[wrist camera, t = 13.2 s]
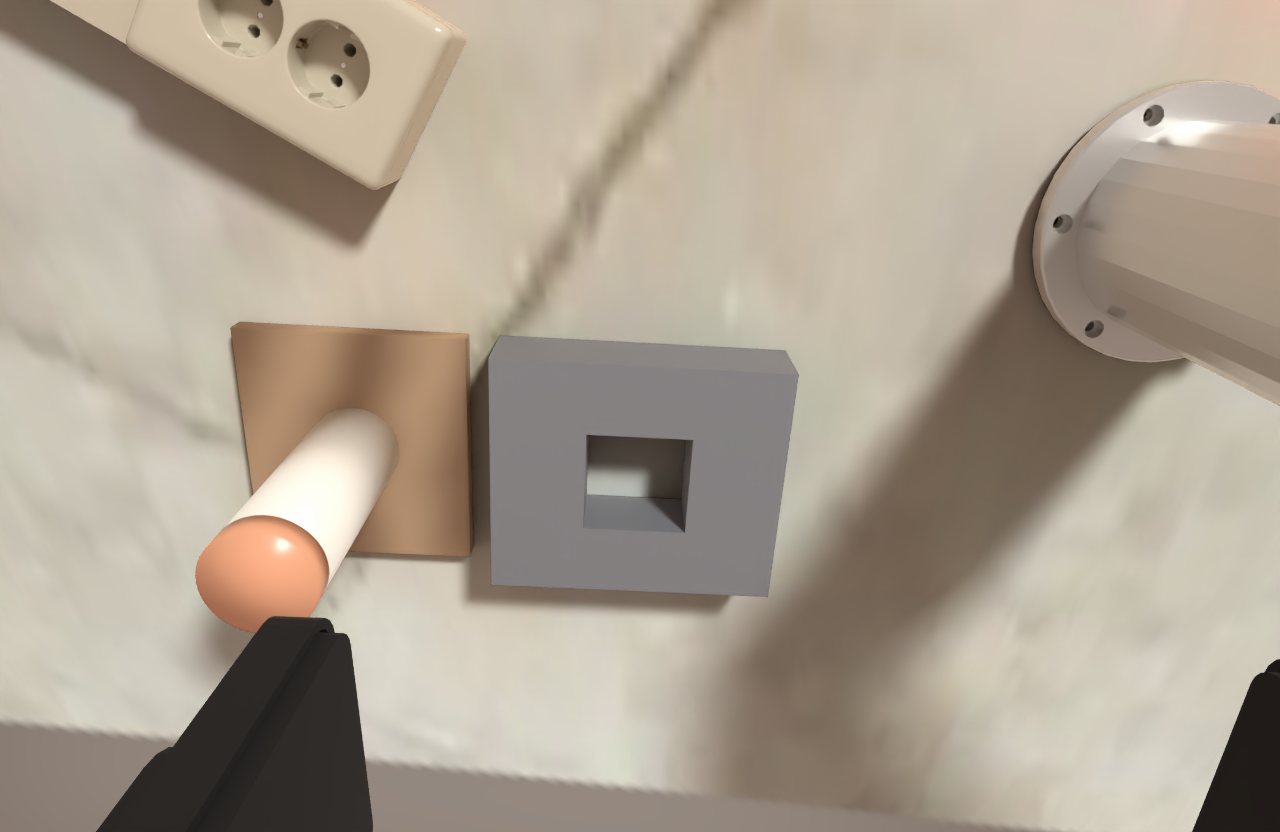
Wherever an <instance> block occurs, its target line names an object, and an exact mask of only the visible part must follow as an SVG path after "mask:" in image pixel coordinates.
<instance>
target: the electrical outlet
mask: <svg viewBox="0 0 1280 832" xmlns="http://www.w3.org/2000/svg"><path fill="white" fill-rule="evenodd" d="M50 1H52V2H54V3H55V4H57V5H59V6H60V7H62V8H64V9H66V10H67V11H69V12H71V13H73V14H74V15H76V16H78V17H80V18H81V19H83V20H85V21H86V22H88V23H90V24H92V25H93V26H95V27H97V28H99V29H100V30H102V31H104V32H105V33H107V34H109V35H111V36H112V37H114V38H116V39H118V40H119V41H121V42H123V43H124V44H126V45H127V46H128V48H129V49H130V50H131V51H132V52H134V53H136V54H137V55H139V56H141V57H142V58H144V59H146V60H148V61H149V62H151V63H153V64H155V65H156V66H158V67H160V68H161V69H163V70H165V71H167V72H168V73H170V74H172V75H174V76H175V77H177V78H179V79H181V80H182V81H184V82H186V83H187V84H189V85H191V86H193V87H194V88H196V89H198V90H200V91H201V92H203V93H205V94H207V95H208V96H210V97H212V98H213V99H215V100H217V101H219V102H220V103H222V104H224V105H226V106H227V107H229V108H231V109H232V110H234V111H236V112H238V113H239V114H241V115H243V116H245V117H246V118H248V119H250V120H252V121H253V122H255V123H257V124H258V125H260V126H262V127H264V128H265V129H267V130H269V131H271V132H272V133H274V134H276V135H277V136H279V137H281V138H283V139H284V140H286V141H288V142H290V143H291V144H293V145H295V146H297V147H298V148H300V149H302V150H303V151H305V152H307V153H309V154H310V155H312V156H314V157H316V158H317V159H319V160H321V161H323V162H324V163H326V164H328V165H329V166H331V167H333V168H335V169H336V170H338V171H340V172H342V173H343V174H345V175H347V176H348V177H350V178H352V179H354V180H355V181H357V182H359V183H361V184H362V185H364V186H366V187H368V188H369V189H372V190H377V189H380V188H382V187H384V186H386V185H389V184H391V183H393V182H395V181H397V180H399V179H400V178H401V176H402V174H403V172H404V170H405V168H406V165H407V163H408V161H409V159H410V157H411V155H412V153H413V151H414V149H415V147H416V145H417V143H418V141H419V138H420V136H421V134H422V132H423V130H424V128H425V126H426V124H427V122H428V120H429V118H430V116H431V113H432V111H433V109H434V107H435V105H436V103H437V101H438V99H439V97H440V95H441V93H442V91H443V88H444V86H445V84H446V82H447V80H448V78H449V76H450V74H451V72H452V70H453V68H454V66H455V64H456V61H457V59H458V57H459V55H460V53H461V51H462V49H463V47H464V45H465V43H466V35H465V33H464V32H463V31H462V30H460V29H458V28H457V27H455V26H454V25H452V24H451V23H449V22H447V21H446V20H444V19H443V18H441V17H440V16H438V15H436V14H435V13H433V12H432V11H430V10H429V9H427V8H425V7H424V6H422V5H421V4H419V3H418V2H416V1H414V0H50Z"/></svg>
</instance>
